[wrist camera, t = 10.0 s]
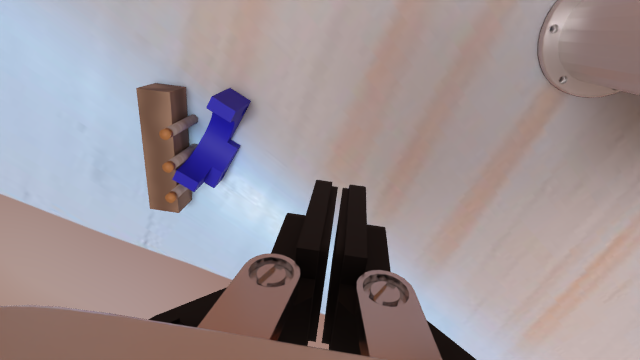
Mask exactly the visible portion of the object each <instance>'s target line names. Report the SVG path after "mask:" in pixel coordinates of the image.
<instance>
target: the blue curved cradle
mask: <svg viewBox="0 0 640 360" xmlns="http://www.w3.org/2000/svg"><path fill="white" fill-rule="evenodd" d="M250 102H251V101H250V100H248V99H247V98H245V97H244V96H242V95H240V94H239V93H237V92H236V91H234V90H233V89H231V88H229V89H227V90H224V91H222V92H220V93H218V94H216V95H214V96H212V97H211V99H210V101H209V103H208V105H207V109H209V110H210V111H212V112H213V113H212V118H211V121H210V123H209V126H208V128H207V130H206V132H205V134H204V136H203V137H202V139H201V141H200V142H199V144H198V146H197V147H196V149H195V150H194V151H193V153H192V154H191V155H190V157H189V158H188V159H187V160H186V161H185V163H184V164H183V165H182V166H181V167H180V168H179V169H177V170H176V173H175V175H174V177H173V179H172V180H174V181H176V182H177V183H179V184H181V185H183V186H184V187H186V188H188V189H190V190H191V191H193V192H195V191H196V190H197V189H198V188H199V187H200V186H201V185H202V184H203V183H204V182H205V183H206V184H208V185H210V186H211V187H213V188H215V187H216V185H217V184H218V183H219V182H220V181H221V180H222V178H223V176H224V175H225V173H226V171H227V169H228V167H229V166H230V164H231V162H232V160H233V158H234V156H235V155H236V153H237V151H238V149H239V147H240V145H239V144H237V143H236V142H234V141H232V140H231V138H232V136H233V134H234V132H235V130H236V128H237V127H238V125H239V123H240V121H241V119H242V117H243V115H244V113H245V112H246V110H247V108H248V106H249V104H250Z"/></svg>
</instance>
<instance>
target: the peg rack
mask: <svg viewBox="0 0 640 360" xmlns="http://www.w3.org/2000/svg"><path fill="white" fill-rule="evenodd" d="M136 89H137V97H138V106H139V115H140V124H141V133H142V142H143V150H144V159H145V168H146V177H147V186H148V195H149V203H150V209H156V210H163V211H169V212H176V213H179V212H180V211H181V210H182V209H183V208H184V207H185V206H186V205H187V204H188V203H189V202H190V201H191V200H192V191H191V190H190V189H188V188H186V187H184V186H183V185H181V184H179V183H177V182H176V181H174V180H172V179H173V177H174V175H175V173H176V170H177V169H179V168H180V167H181V166H182V165H183V164H184V163H185V161H186V160H187V159H188V158H189V157H190V155H191V154H192V153H193V151H194V150H195V149H196V147H197V146H198V145H197V144H192V145H190V146H189V135H188V128H189V127H190V126H192V125H194V124H195V123H197V122H198V118H197V116H196V115H193V114H192V115H190V116H188V117H187V99H186V87H181V86H174V85H166V84H158V83H154V84H150V85H146V86H143V87H139V88H136Z"/></svg>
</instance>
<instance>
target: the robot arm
mask: <svg viewBox="0 0 640 360" xmlns="http://www.w3.org/2000/svg"><path fill="white" fill-rule="evenodd" d="M550 27H552V30H551V31H550V32H549V28H550ZM538 57H539V62H540V66H541V68H542V70H543V73H544V75H545V76H546V78H547V79H548V80H549V81H550V83H551V84H553V85H554V86H555V87H557V88H558V89H559V90H561V91H564V92H566V93H568V94H571V95H575V96H579V97H587V98H592V97H603V96H607V95H612V94H615V93H617V92H620V91H624V92H628V93H632V94H637V95H640V0H558V1H557V2H556V3H555V4H554V6H553V7H552V9H551V10H550V12H549V14H548V16H547V17H546V19H545V22H544V24H543V27H542V29H541V33H540V37H539V42H538ZM560 77H561V80H560V81H559V78H560ZM337 189H338V187H333V186H332V182H328V181H321V180H316V183H315V186H314V190H313V193H312V196H311V200H310V203H309V207H308V210H307V213H306V216H305V215H299V214H292V213H287V215H286V217H285V220H284V222H283V225H282V227H281V230H280V232H279V235H278V237H277V240H276V242H275V245H274V247H273V250H272V252H271V254H263V255H259V256H256V257H254V258H252V259H250V260H249V261H248V262H247V263H246V264H245V265H244V266H243V267H242V269H241V270H240V271H239V273H238V274H237V275H236V276H235V278H234V279H233V280H232V282H231V283H230V285H229V286H228V287H227V288H224V289H222V290H219V291H217V292H214V293H212V294H209V295H207V296H204V297H202V298H199V299H196V300H194V301H191V302H189V303H187V304H184V305H181V306H179V307H177V308H174V309H171V310H169V311H167V312H164V313H161V314H159V315H156V316H154V317H152V318H151V319H148V320H147V319H141V318H135V317H128V316H122V315H116V314H111V313H103V312H95V311H87V310H79V309H72V308H64V307H53V306H36V305H24V306H23V305H22V306H0V360H476V359H475V358H474V357H472V356H471V355H470V354H469V353H467V352H466V351H465V350H464V349H462V348H461V347H460V346H458V345H457V344H456V343H455V342H453V341H452V340H451V339H450V338H448V337H447V336H446V335H445V334H443V333H442V332H441V331H440V330H438V329H437V328H436V327H435V326H433V325H432V324H431V323H429V322H428V321H427V320H426V318H425V316H424V313H423V311H422V308H421V306H420V303H419V301H418V298H417V296H416V293H415V291H414V289H413V288H412V286H411V284H409V283H408V282H407V281H406V280H405V279H404V278H402V277H400V276H399V275H397V274H394V273H392V272H390V263H389V255H388V246H387V238H386V230H385V227H380V226H373V225H367V216H366V187H363V186H356V185H350V186H349V189H347V188H343V190H342V197H341V204H340V211H339V217H338V224H337V231H336V238H335V245H334V251H333V258H332V266H331V274H330V282H329V290H328V298H327V306H326V314H325V322H324V330H323V338H322V343H326V344H329V350H327V349H322V348H316V347H310V346H307V345H308V341H314V342H316V336H317V329H318V322H319V315H320V309H321V302H322V295H323V288H324V281H325V274H326V267H327V260H328V253H329V246H330V239H331V232H332V225H333V218H334V211H335V204H336V196H337Z"/></svg>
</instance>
